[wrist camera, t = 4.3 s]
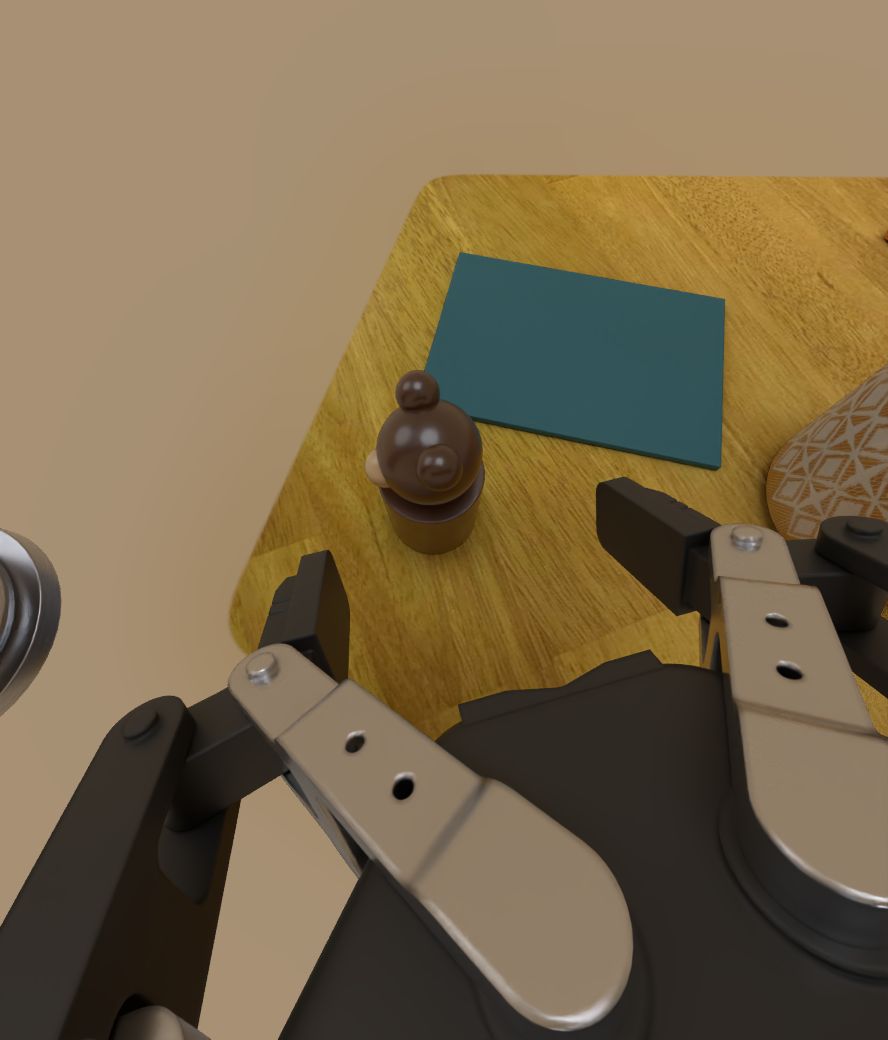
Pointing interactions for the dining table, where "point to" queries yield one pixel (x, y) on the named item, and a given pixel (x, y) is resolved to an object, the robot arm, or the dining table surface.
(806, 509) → the planter
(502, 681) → the dining table surface
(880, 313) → the dining table surface
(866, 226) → the dining table surface
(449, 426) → the toy teddy
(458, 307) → the mat
